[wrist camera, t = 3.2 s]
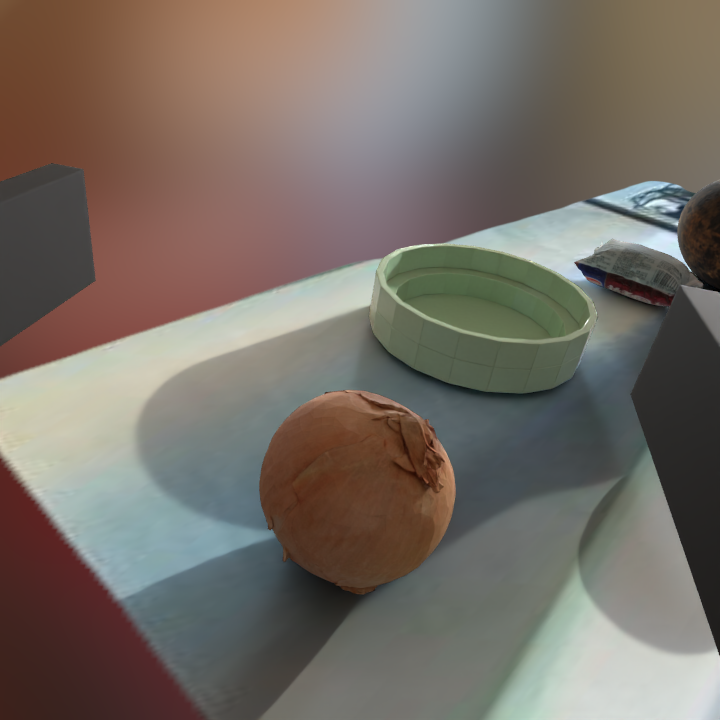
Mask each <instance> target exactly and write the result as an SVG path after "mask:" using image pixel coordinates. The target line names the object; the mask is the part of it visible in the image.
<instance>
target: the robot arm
mask: <svg viewBox="0 0 720 720" xmlns="http://www.w3.org/2000/svg"><path fill="white" fill-rule="evenodd" d="M94 281H95V271H94V263H93V253H92V244H91V236H90V226H89V217H88V208H87V199H86V190H85V180H84V171H83V169H79V168H74V167H69V166H64V165H58V164H53V163H51V164H48V165H46V166H43V167H40V168H37V169H34V170H32V171H29V172H26V173H23V174H20V175H18V176H15V177H12V178H9V179H6V180H4V181H1V182H0V346H1V345H3V344H4V343H6V342H7V341H8V340H10V339H11V338H13V337H14V336H16V335H17V334H19V333H20V332H22V331H23V330H25V329H26V328H27V327H29V326H30V325H32V324H33V323H34V322H36V321H38V320H39V319H40V318H42V317H43V316H45V315H46V314H48V313H49V312H51V311H52V310H53V309H55V308H56V307H58V306H59V305H61V304H62V303H64V302H65V301H67V300H68V299H70V298H71V297H72V296H74V295H75V294H77V293H78V292H80V291H81V290H83V289H84V288H86V287H87V286H88V285H90V284H91V283H93V282H94ZM631 397H632V400H633V403H634V406H635V409H636V412H637V415H638V417H639V420H640V423H641V426H642V429H643V432H644V435H645V438H646V441H647V444H648V447H649V450H650V453H651V456H652V459H653V461H654V464H655V467H656V470H657V473H658V476H659V479H660V482H661V485H662V488H663V491H664V494H665V497H666V500H667V503H668V505H669V508H670V511H671V514H672V517H673V520H674V523H675V526H676V529H677V532H678V535H679V538H680V541H681V544H682V547H683V550H684V552H685V555H686V558H687V561H688V564H689V567H690V570H691V573H692V576H693V579H694V582H695V585H696V588H697V591H698V594H699V596H700V599H701V602H702V605H703V608H704V611H705V614H706V617H707V620H708V623H709V626H710V629H711V632H712V635H713V638H714V640H715V643H716V646H717V649H718V652H719V655H720V294H719V292H715V291H710V290H705V289H700V288H695V287H690V286H684V285H679V287H678V289H677V291H676V294H675V296H674V298H673V300H672V303H671V305H670V307H669V309H668V312H667V314H666V316H665V318H664V321H663V323H662V325H661V327H660V329H659V332H658V334H657V336H656V338H655V341H654V343H653V345H652V347H651V350H650V352H649V354H648V356H647V358H646V361H645V363H644V365H643V367H642V370H641V372H640V374H639V376H638V379H637V381H636V383H635V385H634V388H633V390H632V392H631Z"/></svg>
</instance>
